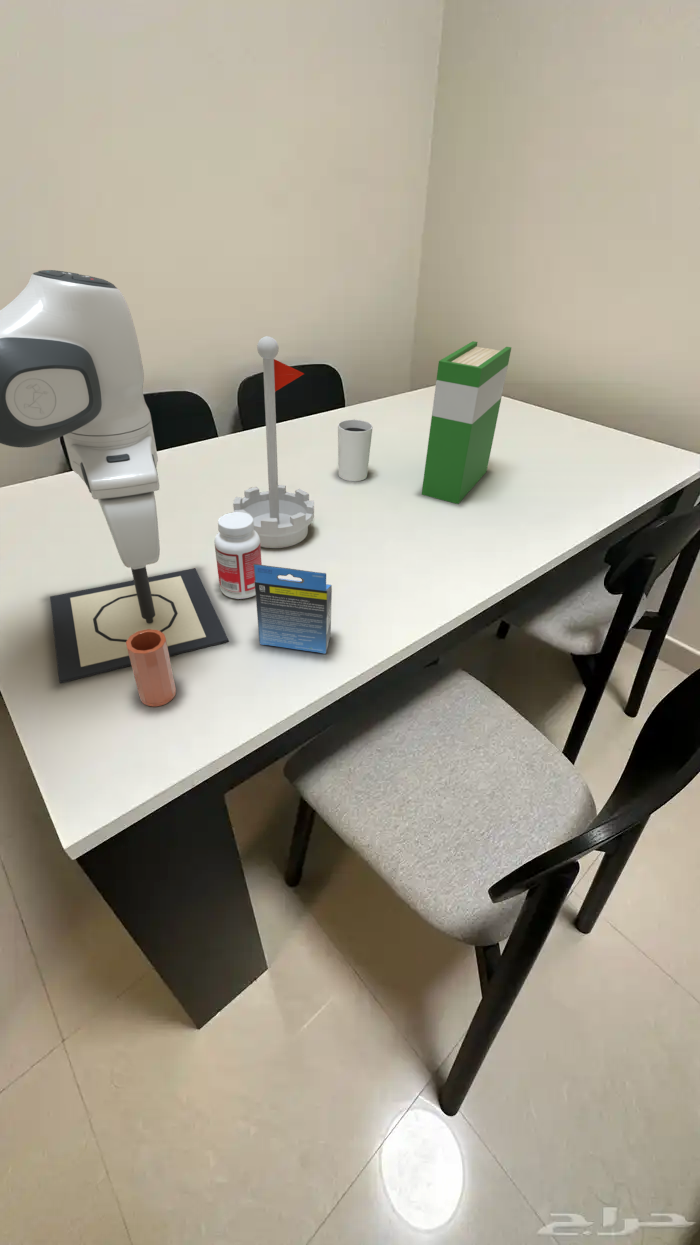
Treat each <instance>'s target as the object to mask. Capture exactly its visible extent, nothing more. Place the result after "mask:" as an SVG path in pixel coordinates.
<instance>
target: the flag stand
mask: <svg viewBox="0 0 700 1245" xmlns="http://www.w3.org/2000/svg"><path fill="white" fill-rule="evenodd" d="M256 346H257V347H256V348H257V353H258V355H259V356H260V357H261V358H262V368H263V372H262V373H263V392H264V394H263V395H264V413H265V414H264V415H265V435H266V436H265V437H266V461H267V480H268V484H267V485H268V490H267V491H260V488H258V486H254V487H253V486H252V487H250V488H247V489H245V490H244V491H243V492H244V495H243V496H244V497H242V496H241V497H240V496H235V498H234V499H233V502H232V506H233V512H243V513H247V514H249V515H251V516H252V518H253V522H254V529H253V530H255V531H256V532H257V533H258V535H259V538H260V547H261V548H265V549H266V548H268V549H281V548H282V549H283V548H288V547H292V546H295V545H297V544H299V543H301V542H303V541H304V540H305V539H306V538H307V537H308V535H309V534H308V533H309V526H310V525H311V523H312V522H313V521H314V517H315V500H310V493H309V492H307V491H306V490H304V489H301V488H298V489H295V491H294V492H291V491H287V485H283V484H279V474H278V472H279V471H278V468H279V467H278V444H277V443H278V441H277V413H276V411H277V410H276V392H277V391H279V390H280V389H282V388H284V387H285V386H287V385H288V384H290V383H292V382H294V381H295V380H297V379H299V378H300V377H301V376H303V375H305V373H304V372H302V371H300V370H298V369H296V368H293V367H292V366H290V365H287V364H286V363H284V362H282V361H279V360H277V359H275V358H276V357H277V356H278V354H279V350H280V349H279V343H278V341H277V340H276V339H275V338H274V337H272V336H269V335H265V336H263V337H261V338H260V339H259V340H258V342H257V345H256Z"/></svg>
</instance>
